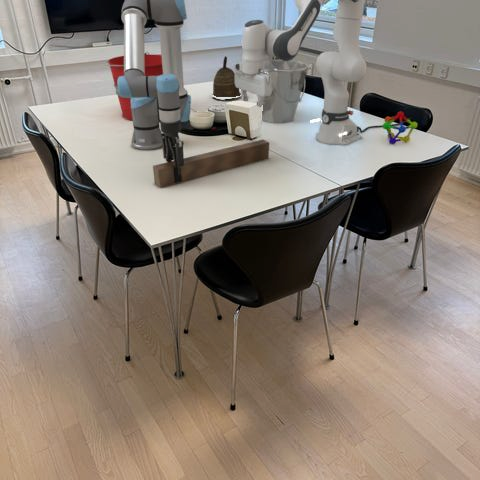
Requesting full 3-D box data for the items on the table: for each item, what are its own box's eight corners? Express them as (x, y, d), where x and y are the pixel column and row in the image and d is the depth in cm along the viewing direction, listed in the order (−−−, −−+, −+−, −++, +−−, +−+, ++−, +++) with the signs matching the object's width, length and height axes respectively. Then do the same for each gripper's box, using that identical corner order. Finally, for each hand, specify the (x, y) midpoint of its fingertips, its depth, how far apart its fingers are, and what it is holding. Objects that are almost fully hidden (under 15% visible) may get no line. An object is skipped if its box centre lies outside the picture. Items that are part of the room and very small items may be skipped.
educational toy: (377, 146, 209) (379, 114, 202) (384, 138, 219) (386, 107, 211) (411, 149, 202) (415, 116, 195) (417, 141, 212) (420, 109, 204)
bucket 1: (122, 105, 263) (114, 51, 248) (180, 106, 263) (177, 52, 247) (105, 123, 234) (95, 63, 218) (171, 124, 233) (166, 64, 217)
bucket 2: (277, 130, 226) (280, 73, 211) (239, 117, 245) (239, 64, 230) (315, 118, 243) (320, 65, 228) (277, 107, 261) (279, 57, 247)
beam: (160, 187, 167) (158, 169, 163) (154, 183, 170) (152, 165, 167) (268, 158, 193) (269, 142, 189) (262, 155, 196) (262, 139, 192)
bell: (227, 105, 294) (202, 96, 282) (238, 66, 289) (213, 55, 277) (243, 108, 280) (217, 98, 268) (255, 66, 275) (229, 55, 263)
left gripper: (191, 124, 156) (194, 185, 168) (168, 113, 168) (173, 170, 180) (172, 128, 152) (177, 190, 164) (150, 116, 164) (156, 174, 177)
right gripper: (276, 70, 165) (274, 108, 172) (244, 62, 179) (244, 97, 186) (263, 72, 162) (261, 110, 169) (231, 64, 176) (231, 99, 183)
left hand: (175, 179), depth 172 cm, fingers closed on beam, 5 cm apart
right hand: (252, 103), depth 178 cm, fingers open, 8 cm apart
